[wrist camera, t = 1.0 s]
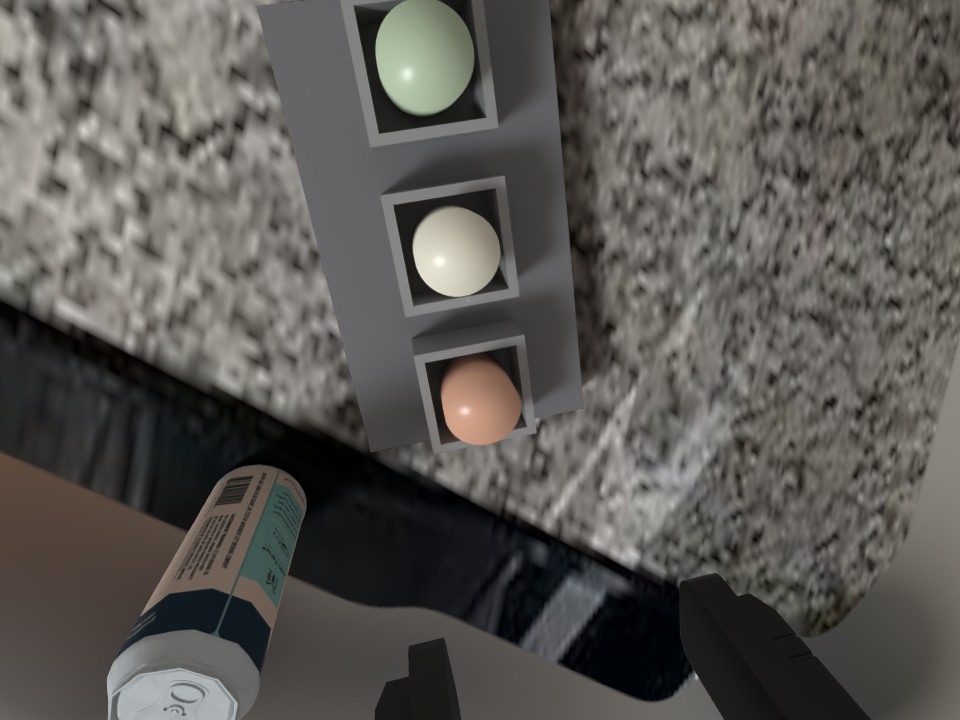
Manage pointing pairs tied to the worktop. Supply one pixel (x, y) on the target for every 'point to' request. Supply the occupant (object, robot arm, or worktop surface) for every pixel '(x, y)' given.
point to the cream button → (455, 250)
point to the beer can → (213, 606)
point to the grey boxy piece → (422, 187)
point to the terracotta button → (478, 399)
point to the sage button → (424, 57)
